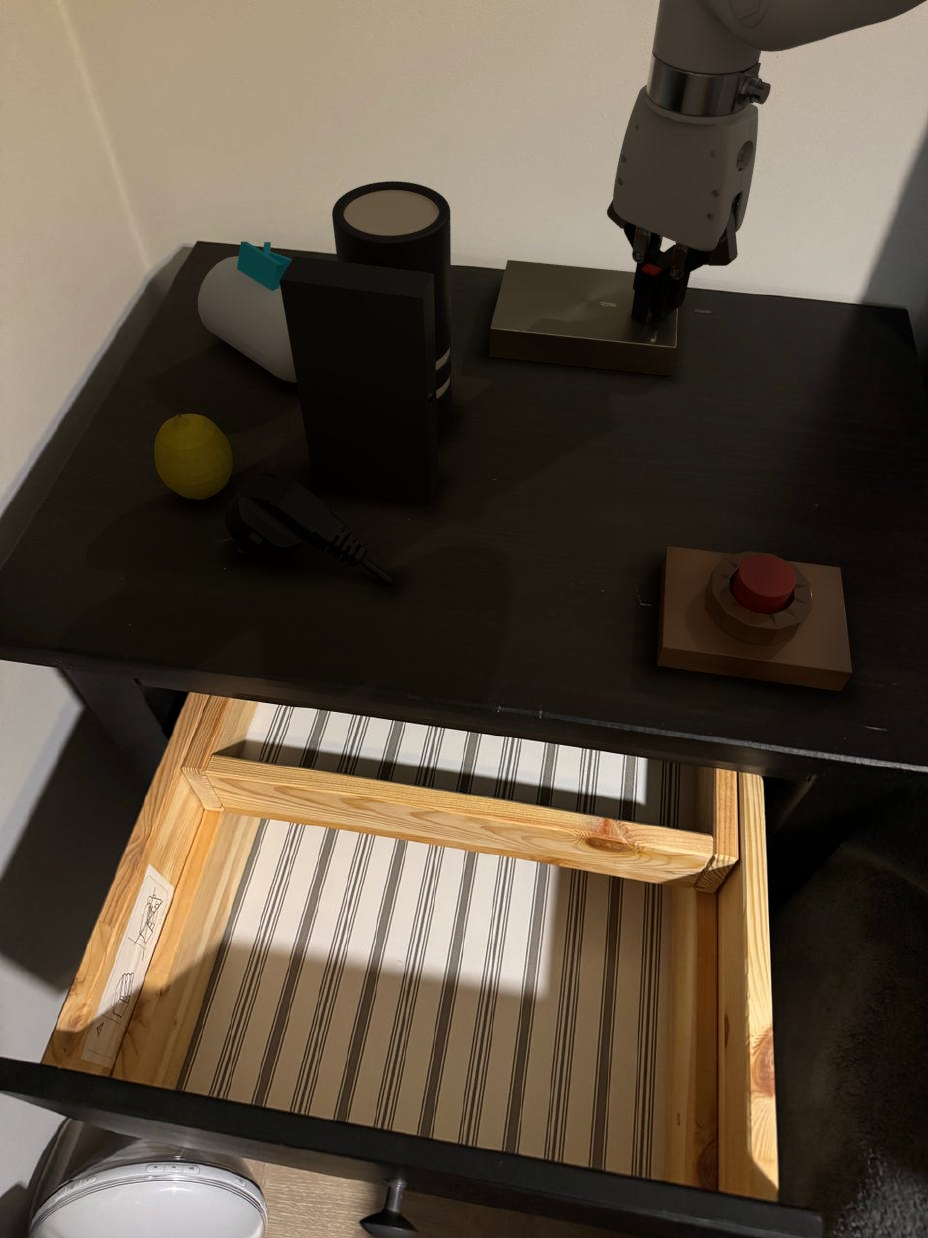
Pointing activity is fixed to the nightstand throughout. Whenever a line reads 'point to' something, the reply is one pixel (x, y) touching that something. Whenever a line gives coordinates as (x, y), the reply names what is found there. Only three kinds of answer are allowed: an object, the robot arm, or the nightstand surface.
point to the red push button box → (751, 623)
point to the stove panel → (578, 320)
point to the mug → (250, 307)
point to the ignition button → (763, 583)
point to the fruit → (193, 456)
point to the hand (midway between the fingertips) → (656, 304)
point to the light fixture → (376, 343)
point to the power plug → (290, 523)
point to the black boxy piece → (650, 286)
